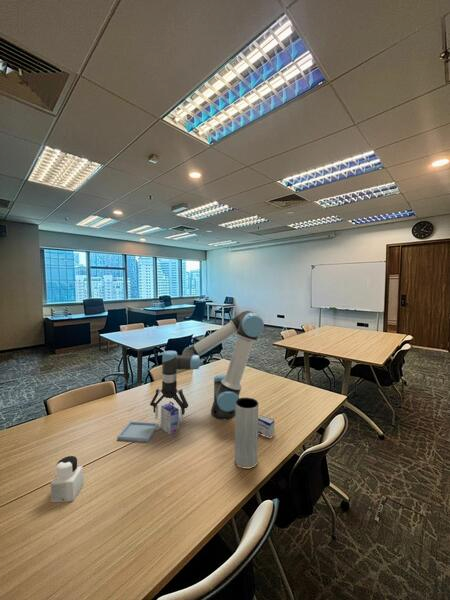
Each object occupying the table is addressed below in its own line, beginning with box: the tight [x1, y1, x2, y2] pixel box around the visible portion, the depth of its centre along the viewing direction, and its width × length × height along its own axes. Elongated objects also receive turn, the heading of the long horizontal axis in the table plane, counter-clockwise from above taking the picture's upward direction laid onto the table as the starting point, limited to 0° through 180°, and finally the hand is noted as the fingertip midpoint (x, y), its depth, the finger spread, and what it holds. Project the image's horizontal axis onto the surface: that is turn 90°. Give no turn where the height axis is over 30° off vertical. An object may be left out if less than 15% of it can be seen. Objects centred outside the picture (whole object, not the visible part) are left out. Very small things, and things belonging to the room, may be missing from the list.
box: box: [258, 415, 275, 437], centre depth 132 cm, size 8×4×9 cm, turn 52°
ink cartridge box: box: [160, 401, 180, 436], centre depth 135 cm, size 10×6×14 cm, turn 45°
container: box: [50, 455, 84, 503], centre depth 94 cm, size 8×8×13 cm
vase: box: [234, 397, 259, 467], centre depth 111 cm, size 10×10×27 cm
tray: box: [116, 420, 159, 443], centre depth 132 cm, size 16×14×2 cm
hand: (168, 419), depth 135 cm, fingers open, 13 cm apart
